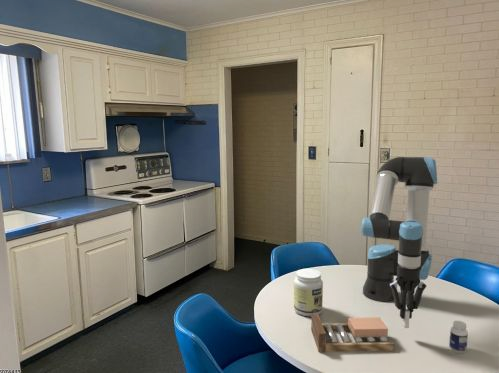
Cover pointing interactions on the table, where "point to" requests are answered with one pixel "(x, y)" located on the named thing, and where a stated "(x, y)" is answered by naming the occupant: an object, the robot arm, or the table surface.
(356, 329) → the slab
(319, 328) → the frame
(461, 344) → the pill bottle
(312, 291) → the supplement tub
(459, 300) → the table surface
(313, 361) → the table surface
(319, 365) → the table surface
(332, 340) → the roller bed
